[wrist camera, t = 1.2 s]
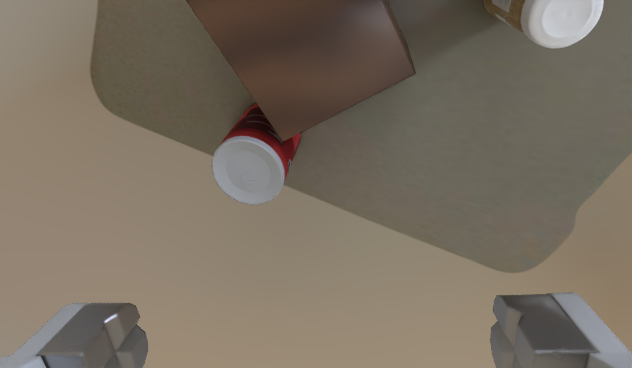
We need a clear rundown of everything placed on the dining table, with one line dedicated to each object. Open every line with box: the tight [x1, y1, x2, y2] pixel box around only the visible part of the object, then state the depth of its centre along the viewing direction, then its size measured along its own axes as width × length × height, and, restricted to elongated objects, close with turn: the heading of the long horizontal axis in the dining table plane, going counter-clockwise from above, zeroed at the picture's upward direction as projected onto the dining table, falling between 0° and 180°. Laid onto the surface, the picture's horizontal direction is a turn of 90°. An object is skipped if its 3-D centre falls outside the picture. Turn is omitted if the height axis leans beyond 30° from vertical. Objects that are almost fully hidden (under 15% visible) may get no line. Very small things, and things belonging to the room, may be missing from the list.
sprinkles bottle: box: [484, 0, 603, 49], centre depth 30 cm, size 5×5×13 cm
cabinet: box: [186, 0, 416, 141], centre depth 35 cm, size 16×14×11 cm
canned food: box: [212, 104, 300, 205], centre depth 43 cm, size 8×8×11 cm
